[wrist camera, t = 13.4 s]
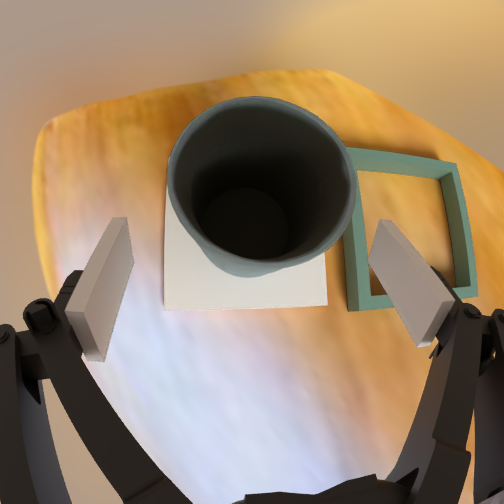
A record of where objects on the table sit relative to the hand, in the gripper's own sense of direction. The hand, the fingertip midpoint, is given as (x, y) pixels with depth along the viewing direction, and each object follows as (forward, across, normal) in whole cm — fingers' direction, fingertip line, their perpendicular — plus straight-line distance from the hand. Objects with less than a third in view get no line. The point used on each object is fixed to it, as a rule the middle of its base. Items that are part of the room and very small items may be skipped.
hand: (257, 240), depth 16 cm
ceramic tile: (+11, 0, -6) cm, 13 cm away
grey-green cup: (+11, 0, -6) cm, 12 cm away
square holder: (+11, +17, -6) cm, 22 cm away
